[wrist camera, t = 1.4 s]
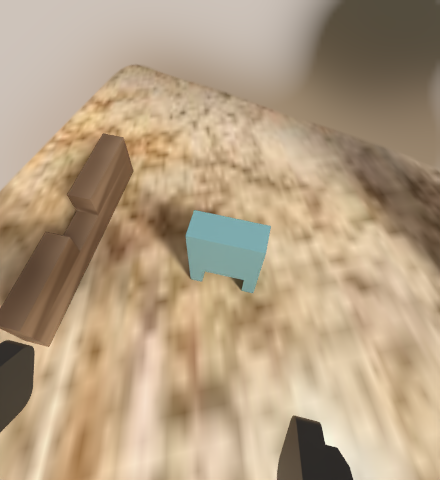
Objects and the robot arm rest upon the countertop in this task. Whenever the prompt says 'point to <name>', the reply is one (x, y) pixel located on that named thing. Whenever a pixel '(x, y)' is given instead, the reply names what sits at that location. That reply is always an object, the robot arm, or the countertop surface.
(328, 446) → the robot arm
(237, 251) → the teal notched bridge block
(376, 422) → the countertop surface
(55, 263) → the walnut slotted plate
